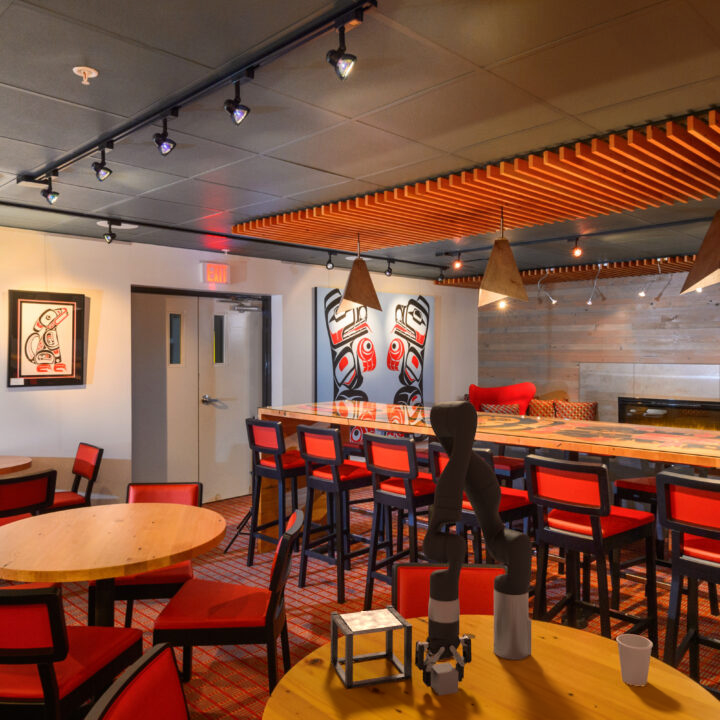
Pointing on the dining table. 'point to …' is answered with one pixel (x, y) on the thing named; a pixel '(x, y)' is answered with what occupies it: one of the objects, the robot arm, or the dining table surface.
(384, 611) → the trapdoor
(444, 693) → the gray cube
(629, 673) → the dixie cup
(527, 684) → the dining table surface
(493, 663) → the dining table surface
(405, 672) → the frame
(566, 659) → the dining table surface
